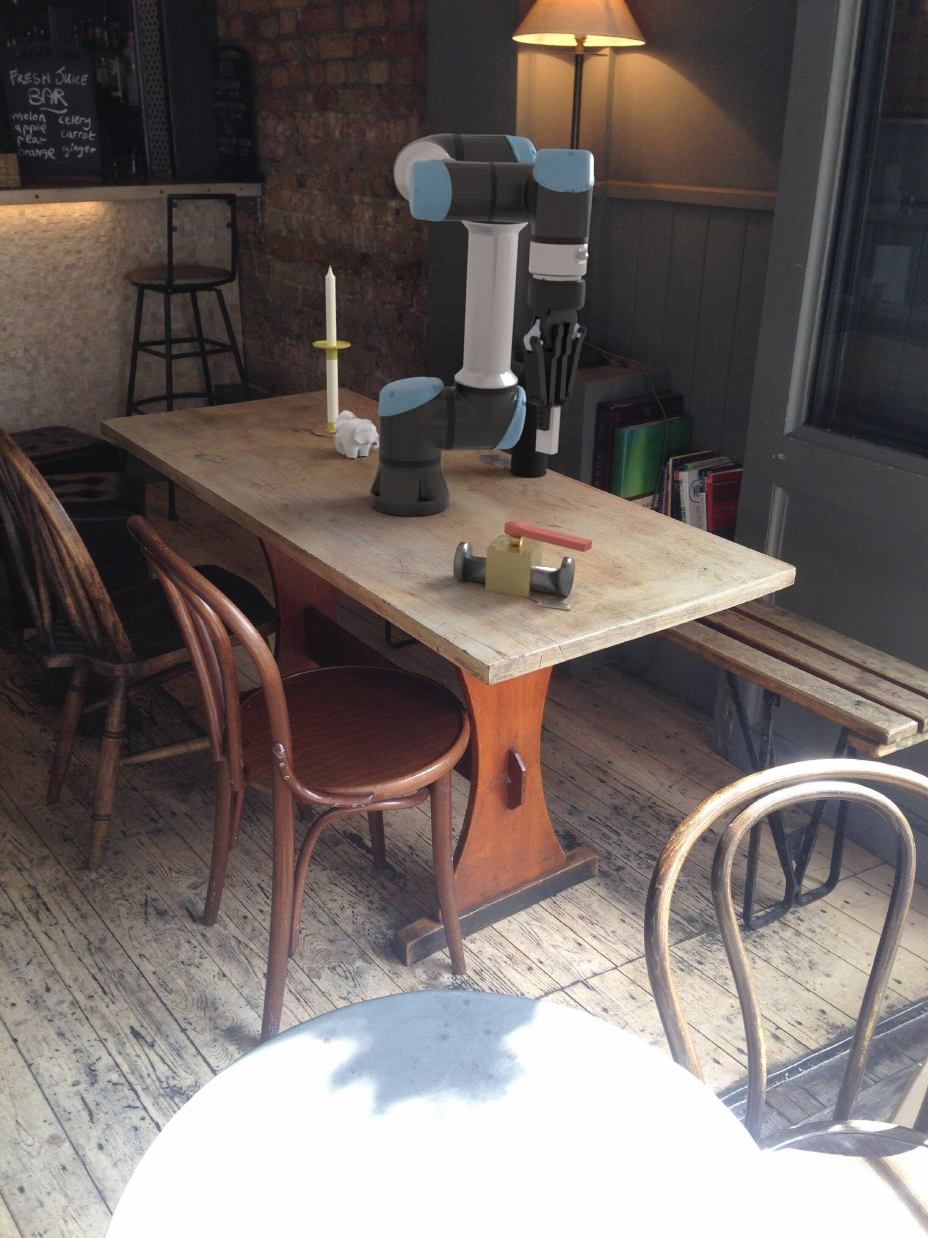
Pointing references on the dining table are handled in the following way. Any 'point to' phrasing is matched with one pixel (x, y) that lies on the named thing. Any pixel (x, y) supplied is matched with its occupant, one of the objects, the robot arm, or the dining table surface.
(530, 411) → the wine bottle
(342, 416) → the elephant figurine
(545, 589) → the valve
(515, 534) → the lever
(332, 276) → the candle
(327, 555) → the dining table surface
